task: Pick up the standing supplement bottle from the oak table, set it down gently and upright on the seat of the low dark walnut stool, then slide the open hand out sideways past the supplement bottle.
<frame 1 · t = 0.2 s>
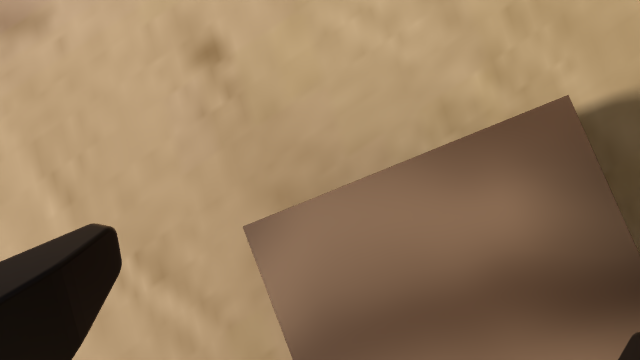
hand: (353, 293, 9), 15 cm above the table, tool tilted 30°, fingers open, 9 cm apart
walnut stool: (453, 302, 23), on the table
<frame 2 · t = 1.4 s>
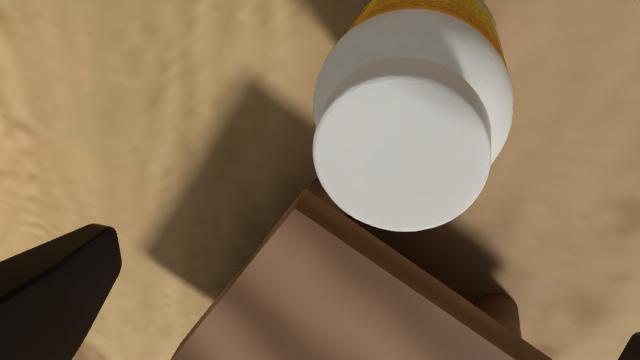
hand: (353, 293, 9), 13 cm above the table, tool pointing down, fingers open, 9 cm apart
supplement bottle: (424, 43, 19), on the table
walnut stool: (356, 306, 27), on the table
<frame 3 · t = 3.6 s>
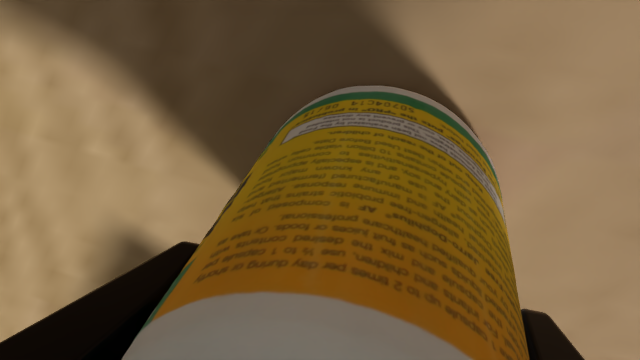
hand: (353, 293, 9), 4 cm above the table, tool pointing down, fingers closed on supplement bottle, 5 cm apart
supplement bottle: (378, 183, 12), on the table, touching gripper
when the fingers open (9 cm above the table, at t = 8.7 s): supplement bottle stays where it is, resting on walnut stool.
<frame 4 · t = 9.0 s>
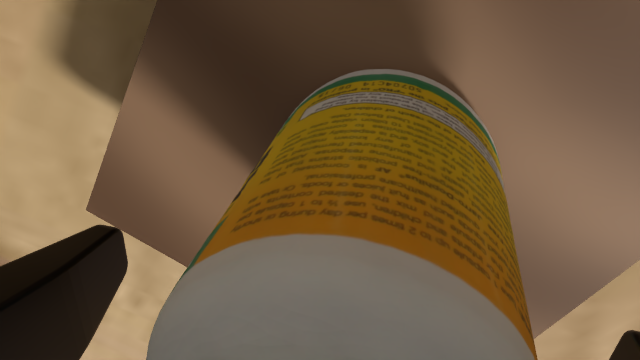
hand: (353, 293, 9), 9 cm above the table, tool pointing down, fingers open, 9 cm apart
supplement bottle: (385, 163, 13), point 4 cm above the table, touching walnut stool
walnut stool: (395, 100, 16), on the table
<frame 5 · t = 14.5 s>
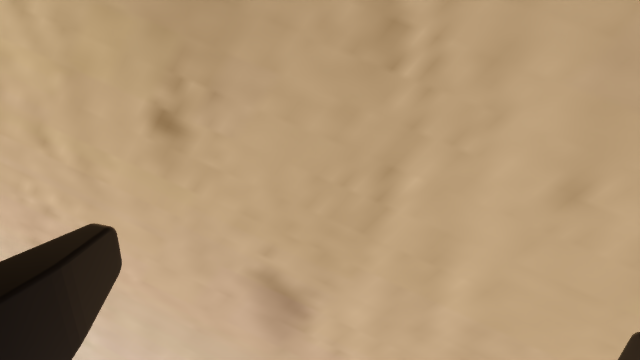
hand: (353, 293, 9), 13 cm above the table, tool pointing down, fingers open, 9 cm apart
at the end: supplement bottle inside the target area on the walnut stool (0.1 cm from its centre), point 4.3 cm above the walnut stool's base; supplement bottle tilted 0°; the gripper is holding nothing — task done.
